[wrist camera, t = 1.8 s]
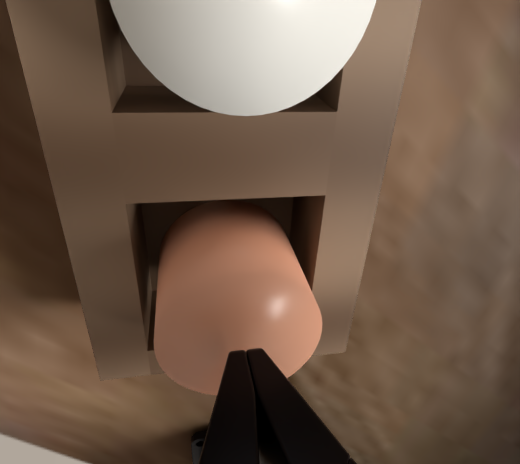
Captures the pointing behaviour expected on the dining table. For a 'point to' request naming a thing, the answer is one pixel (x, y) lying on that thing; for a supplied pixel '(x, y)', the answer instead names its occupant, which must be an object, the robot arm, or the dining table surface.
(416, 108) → the dining table surface
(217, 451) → the robot arm
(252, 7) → the white rounded piece
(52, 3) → the button console
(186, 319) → the peach rounded dome
